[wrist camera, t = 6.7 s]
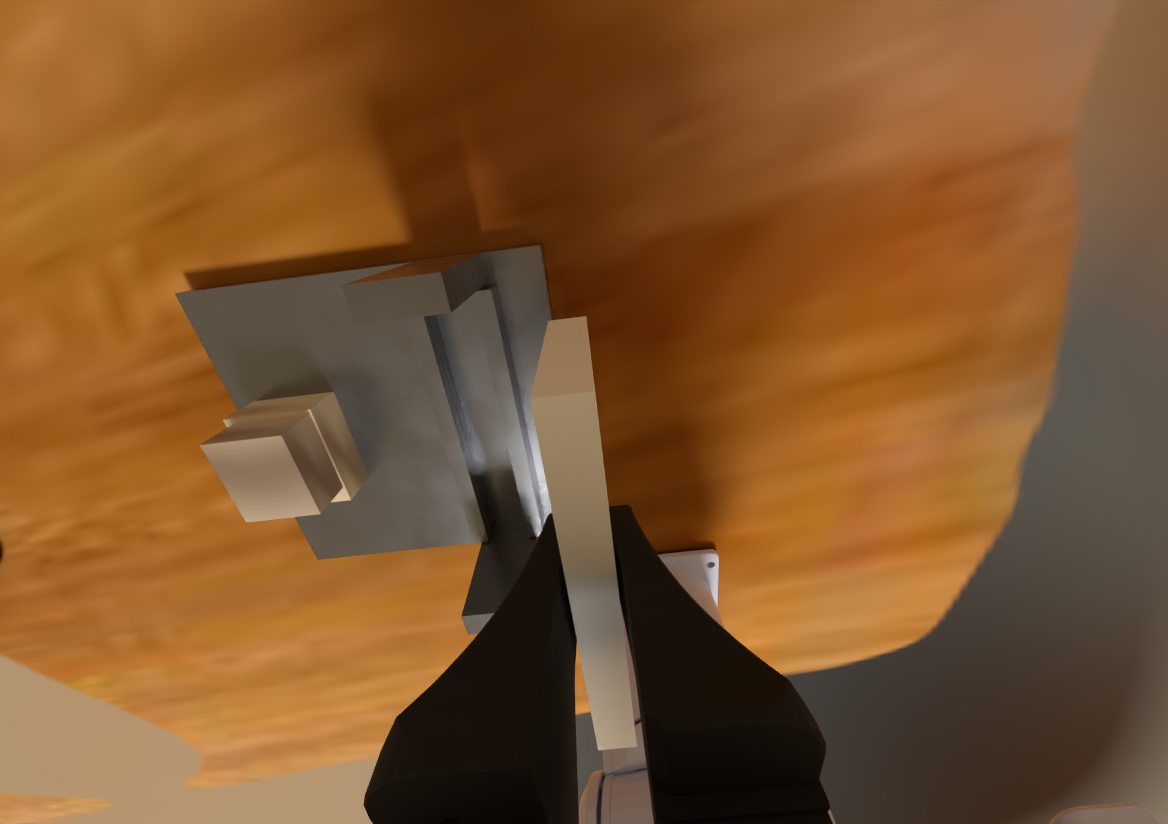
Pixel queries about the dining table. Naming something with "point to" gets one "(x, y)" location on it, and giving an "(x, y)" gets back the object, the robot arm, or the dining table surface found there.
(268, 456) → the offcut top
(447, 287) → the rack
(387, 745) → the robot arm
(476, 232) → the dining table surface
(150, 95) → the dining table surface
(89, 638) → the dining table surface
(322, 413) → the block
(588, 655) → the cream rectangular block
